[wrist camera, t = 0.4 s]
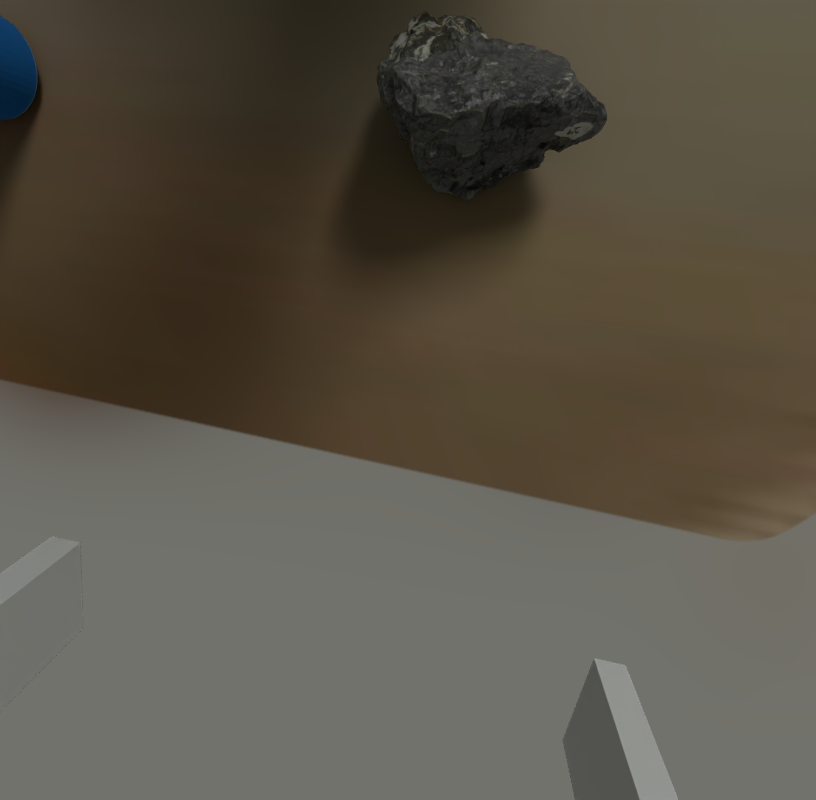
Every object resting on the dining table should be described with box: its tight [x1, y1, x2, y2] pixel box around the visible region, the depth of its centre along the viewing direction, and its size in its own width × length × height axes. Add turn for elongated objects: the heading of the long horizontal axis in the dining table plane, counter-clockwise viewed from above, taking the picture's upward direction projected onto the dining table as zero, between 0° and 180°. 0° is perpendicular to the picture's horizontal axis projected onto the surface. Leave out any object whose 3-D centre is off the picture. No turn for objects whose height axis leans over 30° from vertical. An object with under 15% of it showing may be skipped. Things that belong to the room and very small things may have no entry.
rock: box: [377, 11, 607, 200], centre depth 29 cm, size 12×10×10 cm
